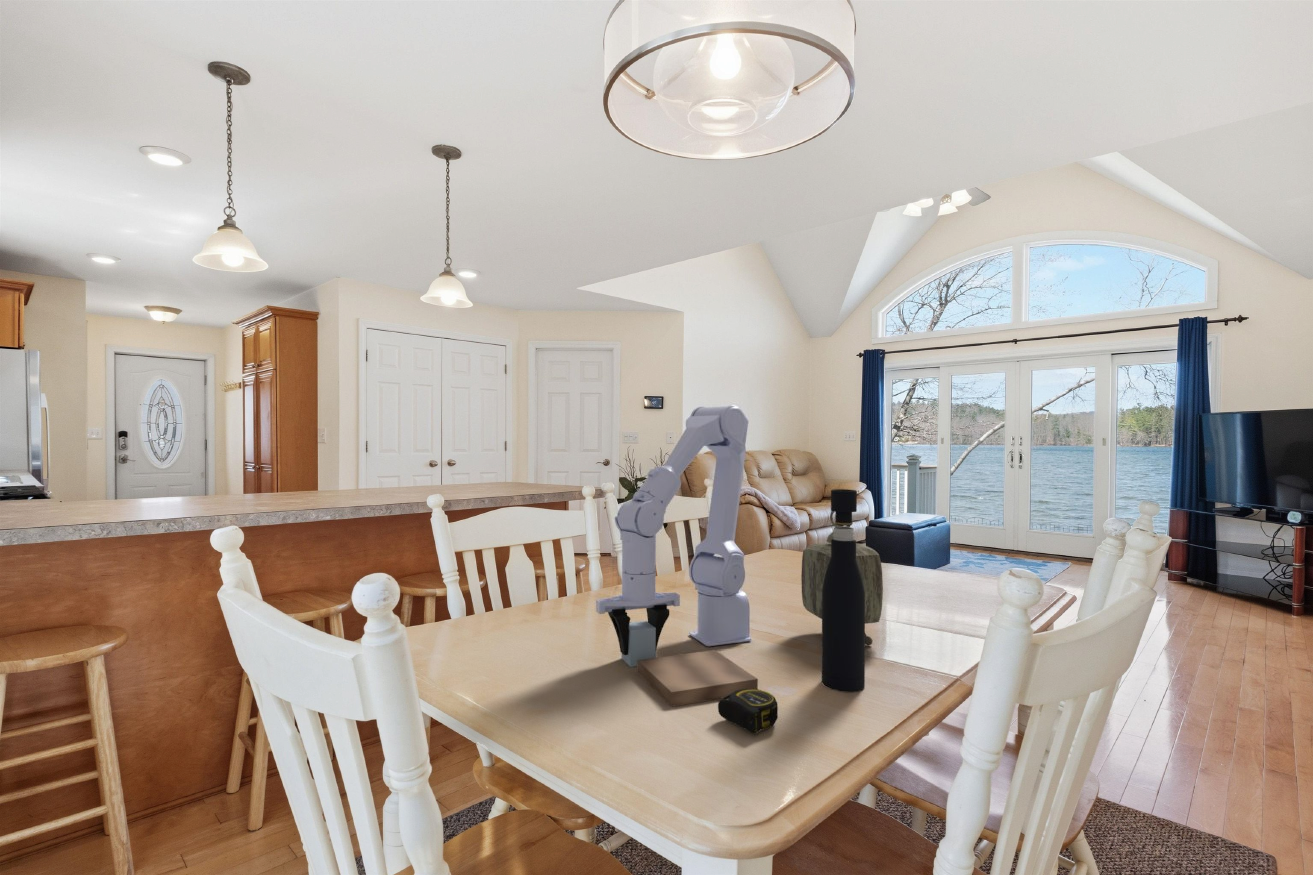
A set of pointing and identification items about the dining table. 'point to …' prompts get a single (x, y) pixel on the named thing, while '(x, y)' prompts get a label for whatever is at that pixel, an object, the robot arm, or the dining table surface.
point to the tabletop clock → (815, 570)
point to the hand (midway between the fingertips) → (638, 651)
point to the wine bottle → (843, 603)
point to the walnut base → (694, 677)
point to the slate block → (640, 642)
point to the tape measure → (749, 709)
